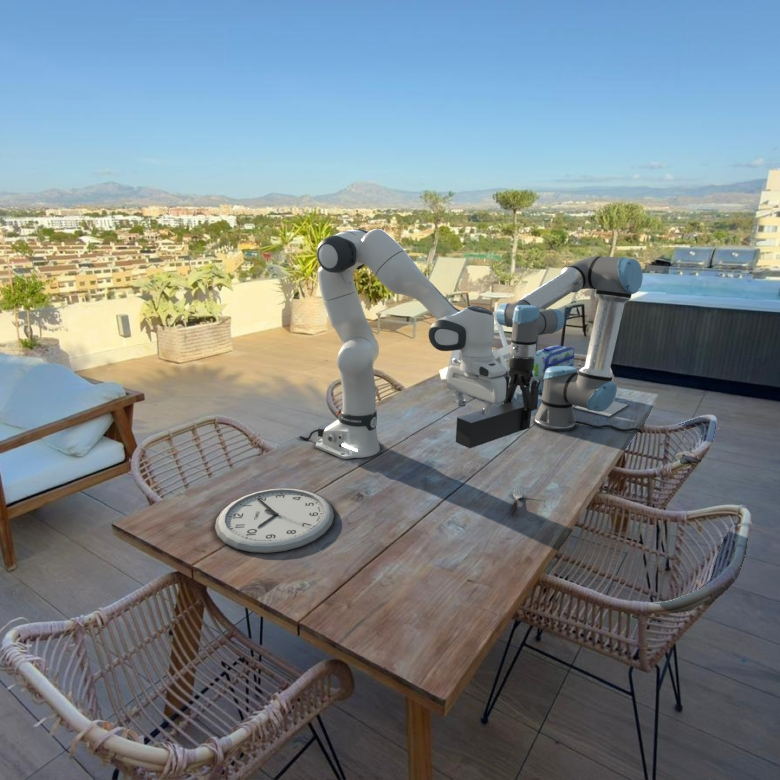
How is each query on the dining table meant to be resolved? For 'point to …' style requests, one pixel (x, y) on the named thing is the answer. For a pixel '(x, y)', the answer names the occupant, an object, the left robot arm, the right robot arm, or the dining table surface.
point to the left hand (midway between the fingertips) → (473, 410)
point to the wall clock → (274, 520)
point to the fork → (517, 496)
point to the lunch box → (551, 361)
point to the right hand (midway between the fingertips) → (515, 426)
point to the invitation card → (609, 411)
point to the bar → (489, 424)
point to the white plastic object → (499, 355)
